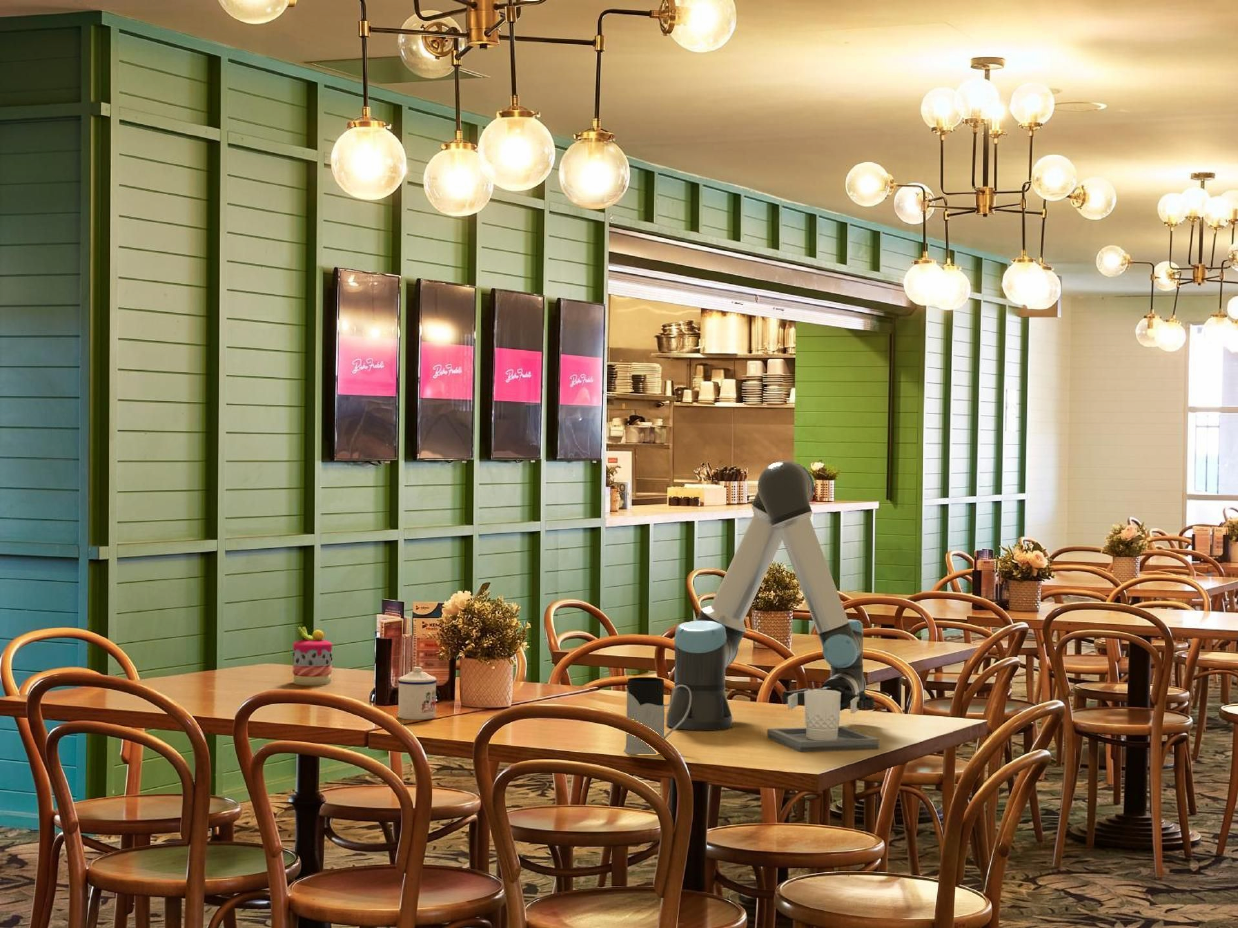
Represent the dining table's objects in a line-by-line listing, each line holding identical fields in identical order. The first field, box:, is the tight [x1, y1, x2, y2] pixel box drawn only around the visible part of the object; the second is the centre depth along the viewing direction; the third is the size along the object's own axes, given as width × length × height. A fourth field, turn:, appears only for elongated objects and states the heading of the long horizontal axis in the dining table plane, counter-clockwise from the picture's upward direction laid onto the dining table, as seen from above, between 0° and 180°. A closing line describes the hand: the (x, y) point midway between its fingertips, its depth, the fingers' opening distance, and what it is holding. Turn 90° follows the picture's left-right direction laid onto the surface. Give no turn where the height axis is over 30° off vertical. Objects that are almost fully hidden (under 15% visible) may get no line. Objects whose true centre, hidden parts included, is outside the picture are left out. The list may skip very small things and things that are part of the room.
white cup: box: [804, 689, 841, 740], centre depth 343 cm, size 8×8×10 cm
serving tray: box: [766, 725, 880, 753], centre depth 343 cm, size 18×18×2 cm
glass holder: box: [623, 676, 692, 755], centre depth 330 cm, size 9×14×15 cm, turn 103°
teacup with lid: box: [397, 666, 438, 721], centre depth 373 cm, size 12×9×12 cm
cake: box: [292, 626, 333, 686], centre depth 429 cm, size 10×11×15 cm
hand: (820, 705), depth 341 cm, fingers open, 13 cm apart
